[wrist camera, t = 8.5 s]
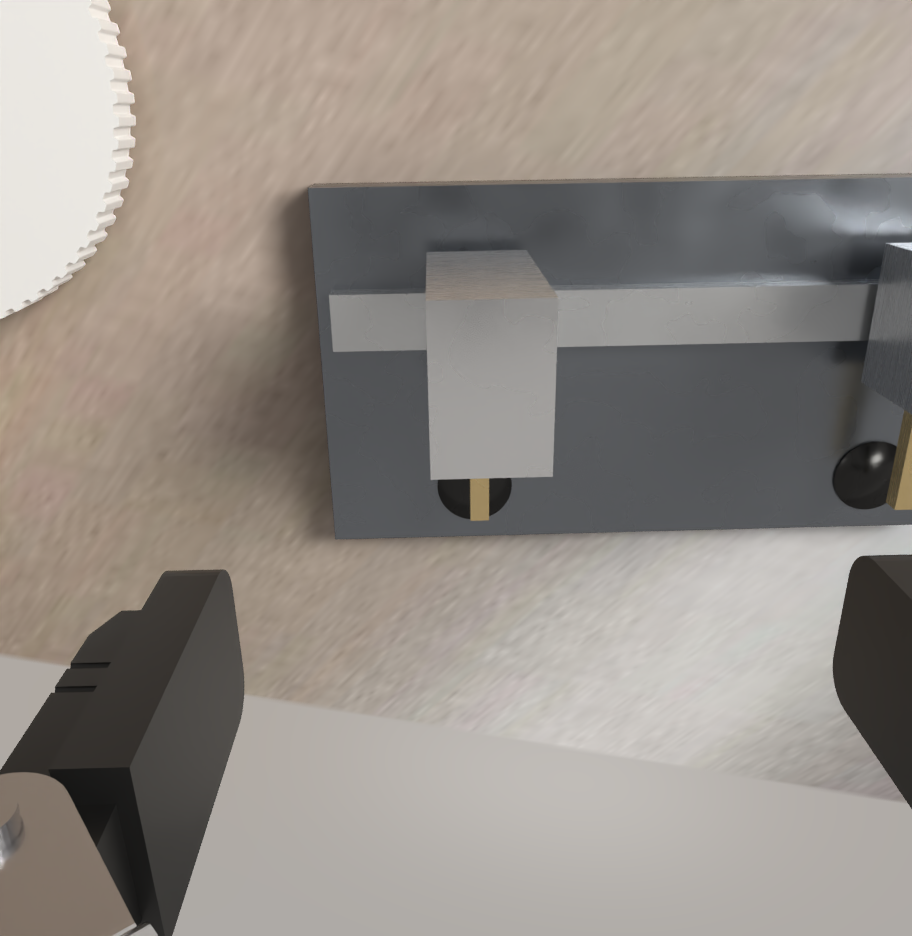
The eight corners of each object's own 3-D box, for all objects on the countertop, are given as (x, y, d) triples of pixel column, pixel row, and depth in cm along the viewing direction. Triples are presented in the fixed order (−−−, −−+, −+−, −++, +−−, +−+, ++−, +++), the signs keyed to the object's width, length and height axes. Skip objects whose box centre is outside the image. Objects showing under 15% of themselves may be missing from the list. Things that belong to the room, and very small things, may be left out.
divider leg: (526, 250, 26) (558, 298, 19) (521, 502, 29) (548, 615, 22) (426, 251, 26) (425, 300, 19) (433, 504, 29) (434, 618, 22)
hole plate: (993, 172, 28) (1040, 177, 26) (919, 505, 32) (954, 533, 30) (313, 183, 27) (304, 190, 25) (339, 520, 32) (333, 550, 30)
